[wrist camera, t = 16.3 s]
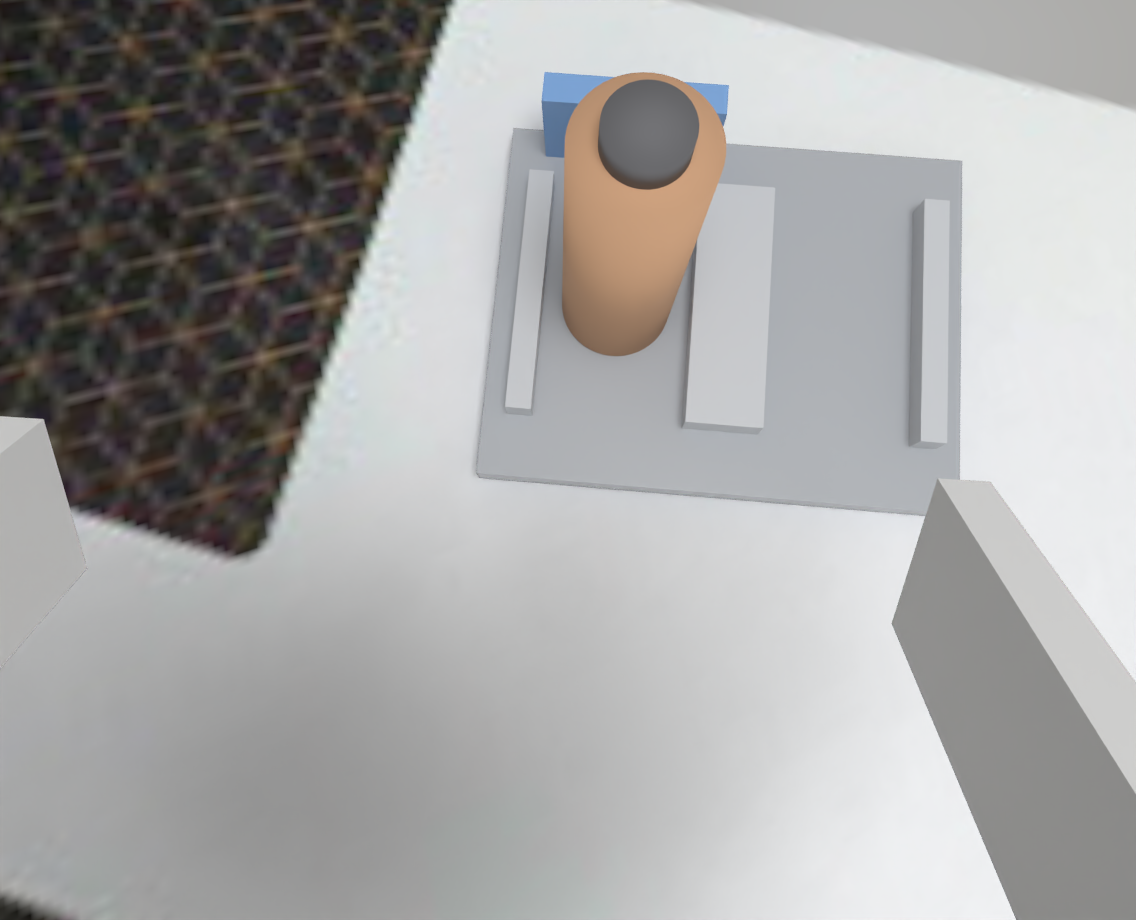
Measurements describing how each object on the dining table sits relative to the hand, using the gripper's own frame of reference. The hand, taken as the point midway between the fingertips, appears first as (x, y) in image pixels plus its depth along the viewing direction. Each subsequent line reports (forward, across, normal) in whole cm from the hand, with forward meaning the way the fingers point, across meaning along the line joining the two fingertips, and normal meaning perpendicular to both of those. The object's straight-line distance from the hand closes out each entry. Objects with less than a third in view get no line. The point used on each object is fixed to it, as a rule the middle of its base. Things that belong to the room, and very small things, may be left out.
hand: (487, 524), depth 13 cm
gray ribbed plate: (+24, +7, -6) cm, 25 cm away
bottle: (+23, +2, -5) cm, 24 cm away
